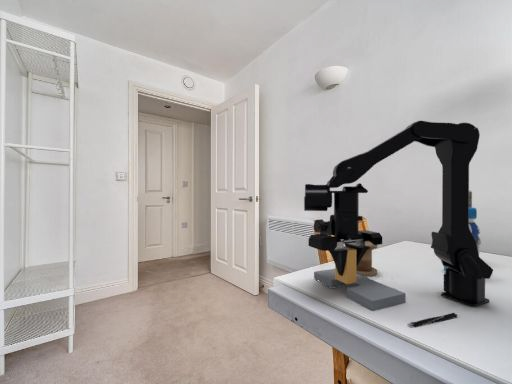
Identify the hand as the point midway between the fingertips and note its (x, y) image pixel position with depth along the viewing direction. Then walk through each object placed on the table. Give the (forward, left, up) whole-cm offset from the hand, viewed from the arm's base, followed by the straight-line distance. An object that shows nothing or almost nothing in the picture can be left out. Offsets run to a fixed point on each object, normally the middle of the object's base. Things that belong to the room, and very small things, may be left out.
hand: (346, 274), depth 61 cm
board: (0, -3, -4) cm, 5 cm away
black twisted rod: (-17, -5, -5) cm, 19 cm away
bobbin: (+9, -15, -4) cm, 18 cm away
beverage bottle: (-4, -40, -4) cm, 40 cm away
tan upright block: (0, 0, -2) cm, 2 cm away
